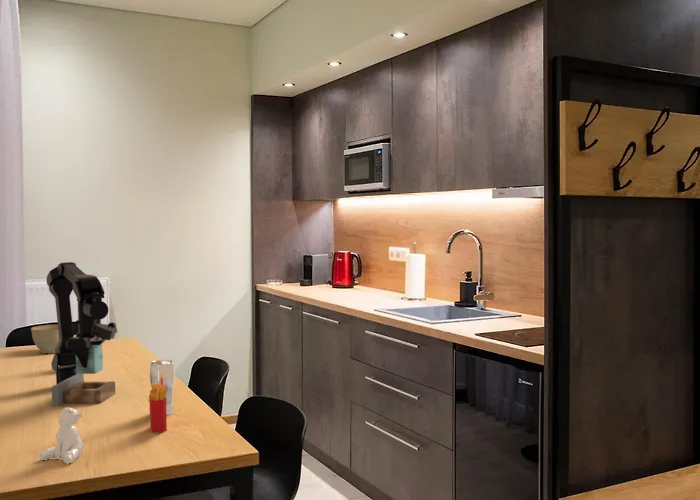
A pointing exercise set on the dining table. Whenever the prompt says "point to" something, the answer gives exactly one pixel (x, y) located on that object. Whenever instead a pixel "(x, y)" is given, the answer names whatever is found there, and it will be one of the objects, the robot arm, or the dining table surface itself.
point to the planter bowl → (46, 337)
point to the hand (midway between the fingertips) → (89, 365)
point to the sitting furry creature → (66, 438)
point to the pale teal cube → (91, 361)
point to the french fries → (158, 408)
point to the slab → (64, 388)
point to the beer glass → (164, 379)
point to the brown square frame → (89, 392)
